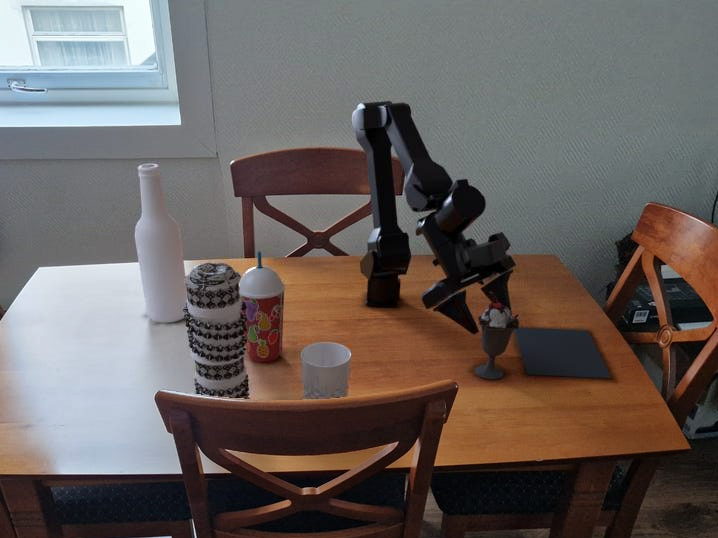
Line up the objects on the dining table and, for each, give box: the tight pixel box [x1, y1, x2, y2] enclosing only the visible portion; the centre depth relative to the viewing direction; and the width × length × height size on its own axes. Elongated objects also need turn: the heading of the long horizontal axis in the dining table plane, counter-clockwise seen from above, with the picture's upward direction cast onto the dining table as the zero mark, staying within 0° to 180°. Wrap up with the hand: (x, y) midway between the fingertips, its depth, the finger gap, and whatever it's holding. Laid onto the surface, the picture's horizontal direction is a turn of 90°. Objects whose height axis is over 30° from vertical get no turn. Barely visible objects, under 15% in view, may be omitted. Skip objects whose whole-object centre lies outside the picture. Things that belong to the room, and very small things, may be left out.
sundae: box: [474, 291, 520, 381], centre depth 111 cm, size 7×7×15 cm
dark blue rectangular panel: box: [513, 326, 613, 380], centre depth 120 cm, size 14×18×1 cm
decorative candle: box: [183, 261, 251, 400], centre depth 99 cm, size 9×9×25 cm
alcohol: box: [134, 163, 188, 324], centre depth 128 cm, size 9×9×30 cm
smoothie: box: [239, 250, 286, 363], centre depth 116 cm, size 8×8×20 cm
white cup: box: [300, 341, 352, 400], centre depth 104 cm, size 8×8×10 cm
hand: (493, 324), depth 110 cm, fingers open, 9 cm apart
